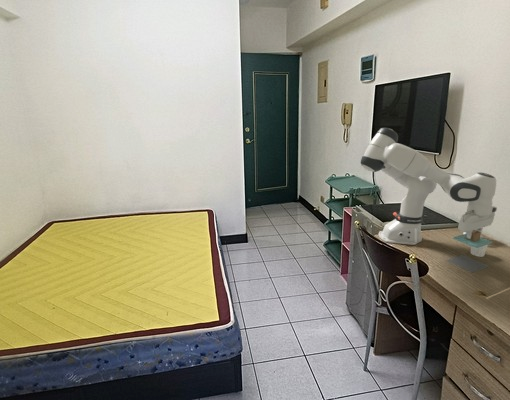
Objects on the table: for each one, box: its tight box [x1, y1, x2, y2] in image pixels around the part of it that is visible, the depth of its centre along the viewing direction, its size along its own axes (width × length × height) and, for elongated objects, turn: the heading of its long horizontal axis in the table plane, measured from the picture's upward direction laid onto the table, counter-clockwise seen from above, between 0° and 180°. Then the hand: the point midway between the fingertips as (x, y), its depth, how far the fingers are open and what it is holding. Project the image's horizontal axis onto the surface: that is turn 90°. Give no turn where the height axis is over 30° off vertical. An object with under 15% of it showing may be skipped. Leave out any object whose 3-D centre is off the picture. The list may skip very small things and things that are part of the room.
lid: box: [452, 230, 493, 248], centre depth 149 cm, size 11×11×5 cm
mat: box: [445, 254, 490, 274], centre depth 153 cm, size 13×13×1 cm
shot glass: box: [470, 244, 489, 258], centre depth 161 cm, size 7×7×7 cm
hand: (472, 237), depth 150 cm, fingers closed on lid, 4 cm apart
